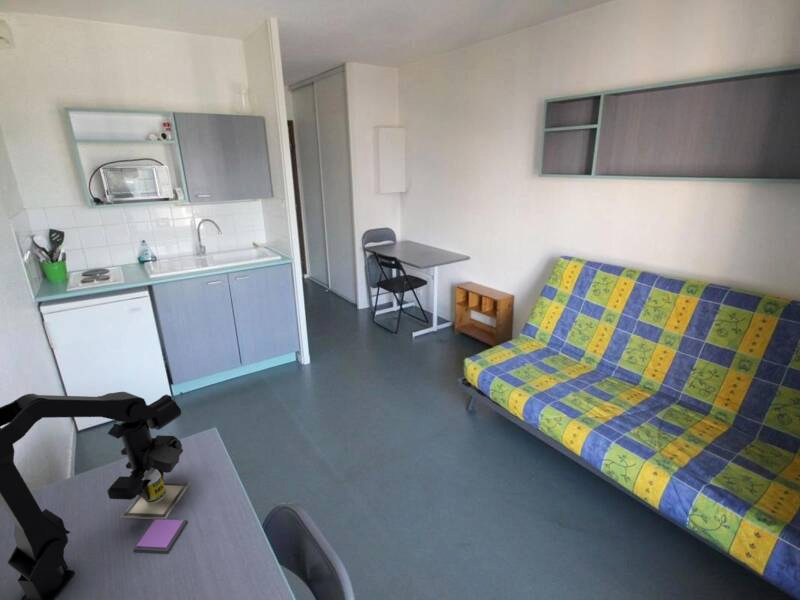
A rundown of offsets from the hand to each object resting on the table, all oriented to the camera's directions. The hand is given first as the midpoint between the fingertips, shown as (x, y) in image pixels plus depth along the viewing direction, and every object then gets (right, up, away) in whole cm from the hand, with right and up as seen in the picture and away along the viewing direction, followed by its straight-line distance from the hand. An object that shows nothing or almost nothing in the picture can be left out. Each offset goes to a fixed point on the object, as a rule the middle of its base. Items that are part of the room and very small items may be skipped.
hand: (154, 491), depth 106 cm
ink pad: (+7, -6, -9) cm, 13 cm away
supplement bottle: (0, -2, +1) cm, 2 cm away
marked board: (0, -3, +1) cm, 3 cm away
